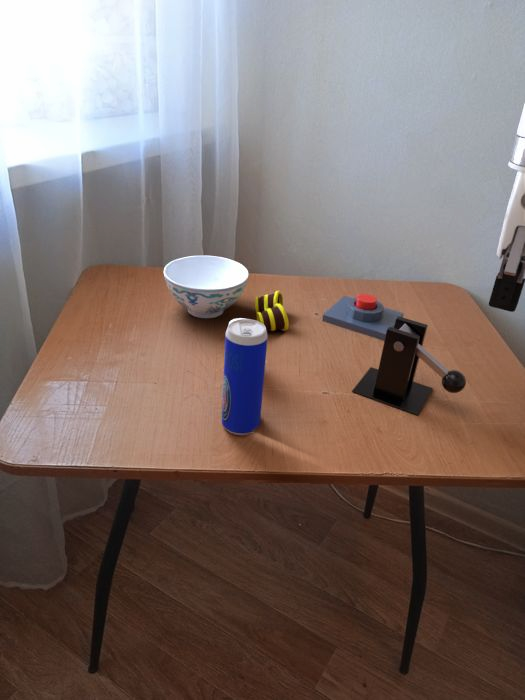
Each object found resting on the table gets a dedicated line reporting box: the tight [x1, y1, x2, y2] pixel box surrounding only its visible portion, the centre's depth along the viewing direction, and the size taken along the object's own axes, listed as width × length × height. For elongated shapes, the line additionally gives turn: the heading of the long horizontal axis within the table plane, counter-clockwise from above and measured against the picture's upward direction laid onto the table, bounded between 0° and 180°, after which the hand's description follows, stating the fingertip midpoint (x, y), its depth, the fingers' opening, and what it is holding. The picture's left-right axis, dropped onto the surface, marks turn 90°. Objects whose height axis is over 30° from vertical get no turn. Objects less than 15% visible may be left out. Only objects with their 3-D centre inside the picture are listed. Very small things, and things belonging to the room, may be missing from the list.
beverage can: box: [221, 318, 269, 436], centre depth 72 cm, size 5×5×15 cm
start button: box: [356, 293, 378, 310], centre depth 101 cm, size 4×4×2 cm
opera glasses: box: [254, 290, 290, 332], centre depth 100 cm, size 10×5×5 cm, turn 5°
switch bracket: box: [351, 316, 434, 417], centre depth 81 cm, size 10×8×12 cm
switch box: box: [322, 295, 405, 341], centre depth 102 cm, size 12×10×4 cm
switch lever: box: [399, 324, 467, 394], centre depth 79 cm, size 12×3×3 cm, turn 60°
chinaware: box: [163, 255, 249, 319], centre depth 102 cm, size 15×15×8 cm
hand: (502, 306), depth 71 cm, fingers closed
